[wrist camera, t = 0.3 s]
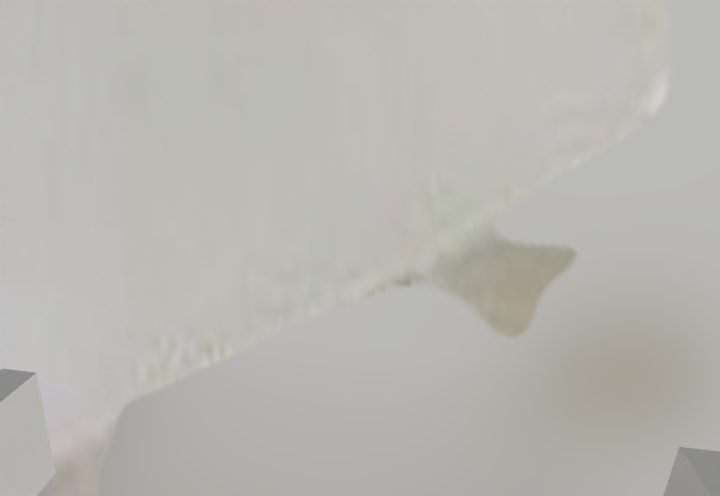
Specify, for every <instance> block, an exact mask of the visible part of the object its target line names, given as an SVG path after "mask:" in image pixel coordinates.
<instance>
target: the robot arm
mask: <svg viewBox="0 0 720 496" xmlns="http://www.w3.org/2000/svg"><path fill="white" fill-rule="evenodd" d="M54 476H55V469H54V464H53V458H52V453H51V448H50V442H49V437H48V432H47V427H46V421H45V416H44V411H43V405H42V400H41V395H40V390H39V384H38V379H37V374H36V373H34V372H26V371H17V370H9V369H2V370H1V371H0V496H37V495H38V494H39V493H40V492H41V490H42V489H43V488H44V487H45V486H46V485H47V484H48V482H49V481H50V480H51V479H52V478H53V477H54ZM664 496H720V452H717V451H709V450H700V449H692V448H683V447H679V450H678V453H677V456H676V459H675V462H674V465H673V468H672V471H671V474H670V478H669V481H668V484H667V487H666V490H665V493H664Z"/></svg>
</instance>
